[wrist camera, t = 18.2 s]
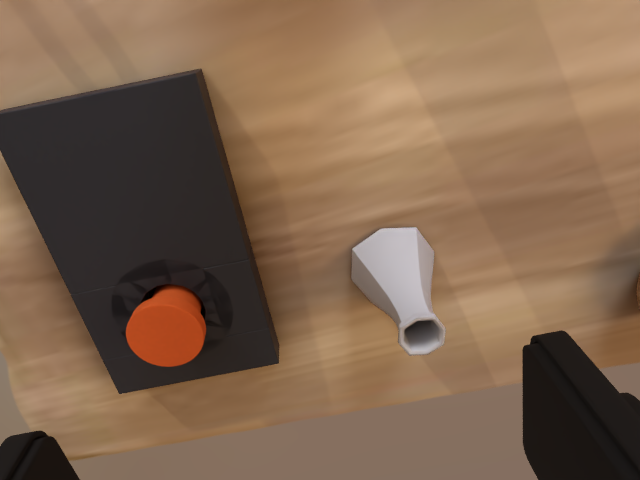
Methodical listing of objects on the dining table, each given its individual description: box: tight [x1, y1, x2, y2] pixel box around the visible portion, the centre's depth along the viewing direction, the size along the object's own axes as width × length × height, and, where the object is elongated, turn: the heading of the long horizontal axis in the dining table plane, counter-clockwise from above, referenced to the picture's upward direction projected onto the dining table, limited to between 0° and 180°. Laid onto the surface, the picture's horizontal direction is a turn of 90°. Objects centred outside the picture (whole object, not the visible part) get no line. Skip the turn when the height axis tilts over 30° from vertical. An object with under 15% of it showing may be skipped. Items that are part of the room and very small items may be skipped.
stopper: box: [126, 284, 206, 367], centre depth 38 cm, size 6×6×6 cm
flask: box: [351, 227, 446, 356], centre depth 36 cm, size 7×7×10 cm
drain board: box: [0, 69, 279, 394], centre depth 37 cm, size 24×14×2 cm, turn 11°
